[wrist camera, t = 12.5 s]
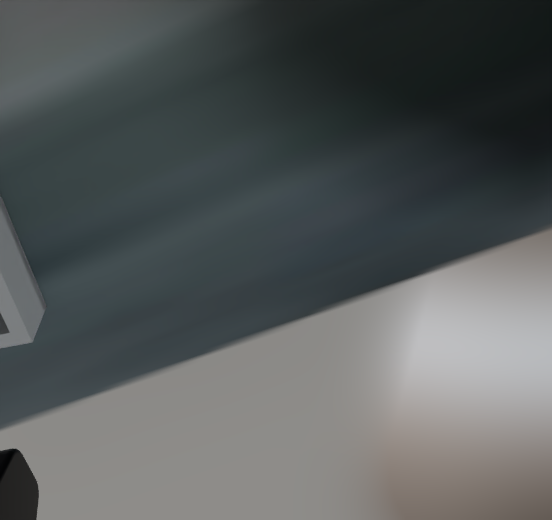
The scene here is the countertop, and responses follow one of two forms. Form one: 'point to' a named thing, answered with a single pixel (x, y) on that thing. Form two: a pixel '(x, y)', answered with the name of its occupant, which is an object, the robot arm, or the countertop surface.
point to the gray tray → (16, 289)
